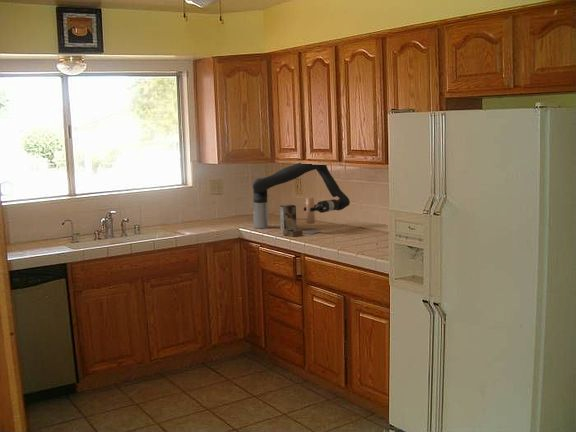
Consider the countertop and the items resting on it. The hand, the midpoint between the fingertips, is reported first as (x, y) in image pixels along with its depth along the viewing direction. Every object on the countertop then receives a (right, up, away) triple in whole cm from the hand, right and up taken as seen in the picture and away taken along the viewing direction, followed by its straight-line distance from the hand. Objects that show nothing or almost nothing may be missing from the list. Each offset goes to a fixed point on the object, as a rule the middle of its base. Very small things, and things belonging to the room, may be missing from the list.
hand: (307, 209), depth 426 cm
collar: (-9, -16, -3) cm, 19 cm away
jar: (+2, -9, +3) cm, 9 cm away
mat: (+2, -15, +4) cm, 15 cm away
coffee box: (-12, -13, +19) cm, 26 cm away
